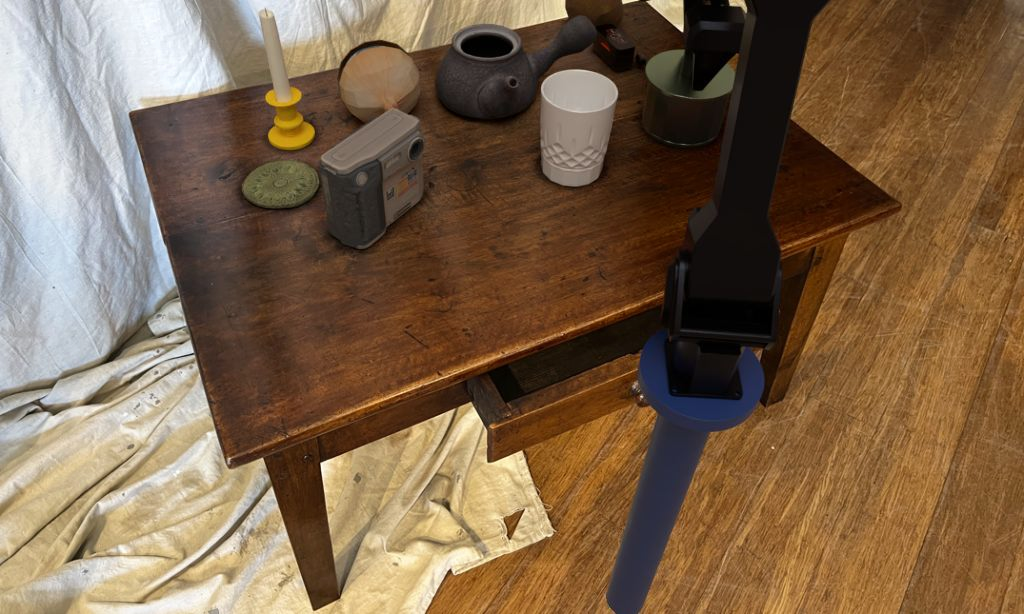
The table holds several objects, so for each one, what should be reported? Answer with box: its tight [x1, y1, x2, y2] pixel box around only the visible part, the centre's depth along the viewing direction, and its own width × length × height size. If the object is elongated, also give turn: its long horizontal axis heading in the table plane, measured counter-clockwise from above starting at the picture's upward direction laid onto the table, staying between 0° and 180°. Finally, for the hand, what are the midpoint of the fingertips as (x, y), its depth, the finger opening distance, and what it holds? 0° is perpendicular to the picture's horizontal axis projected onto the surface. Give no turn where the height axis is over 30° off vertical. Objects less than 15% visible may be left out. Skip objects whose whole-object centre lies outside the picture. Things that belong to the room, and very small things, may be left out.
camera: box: [317, 109, 426, 250], centre depth 78 cm, size 11×6×10 cm, turn 143°
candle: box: [258, 7, 316, 151], centre depth 85 cm, size 5×5×16 cm
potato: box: [564, 0, 625, 28], centre depth 107 cm, size 8×12×8 cm
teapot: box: [434, 15, 597, 120], centre depth 93 cm, size 19×15×10 cm
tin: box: [641, 81, 731, 149], centre depth 92 cm, size 9×9×6 cm
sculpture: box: [336, 39, 421, 124], centre depth 90 cm, size 9×9×15 cm
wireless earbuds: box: [592, 24, 649, 72], centre depth 103 cm, size 5×7×3 cm, turn 26°
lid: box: [644, 46, 736, 102], centre depth 88 cm, size 10×10×5 cm
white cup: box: [539, 69, 619, 188], centre depth 85 cm, size 8×8×10 cm
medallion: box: [241, 159, 320, 209], centre depth 84 cm, size 8×8×1 cm
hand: (692, 67), depth 89 cm, fingers open, 9 cm apart
